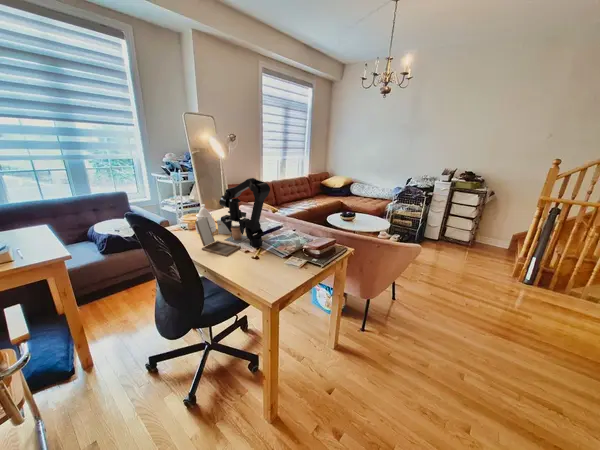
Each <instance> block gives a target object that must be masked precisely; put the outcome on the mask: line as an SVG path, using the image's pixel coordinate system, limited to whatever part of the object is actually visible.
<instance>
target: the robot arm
mask: <svg viewBox="0 0 600 450" xmlns="http://www.w3.org/2000/svg"><path fill="white" fill-rule="evenodd" d="M248 189H249V191H251V192H252V195H253V197H254V201H253V206H252V209H251V216H250V218H247V212H245V211H242V210H241V209H240V204H239V203H241V199H240V198H238V197H240V196H241V194H242V193H243V192H244V191H247V190H248ZM270 191H271V187H270V185H269V183H267V182H264V181H262V180H259V179H257V178H254V177H250V178H246V179H245V180H244V181H242V182H241V183H239V184H237V185H236V186H234V187H229V188H226V189H225V192H224V195H221V196H220V197H221V198H220V199H219V201H218V203H219V205H220V206H221V207H224V208H228V210H227V213H228V214H225V215H223V216H220V218H221V221H222V222H223V223H224V224H225V225H226V227H227V228H228V230H229V231H230V232H232V230H231V227H232V226H233V222H237V223H238V224H239V228H240V231H241V235H244V233H245V236H247V240H248V241H249V246H250V247H251V248H257V249H258V248H259V249H260V248H261V247H262V246H263V239H262V238H263V237H264V236H265V232H264V231H263V229H262V226H261V225H262V224H261V222H260V219H261V215H262V211H263V206H264V203H265V200H266V199H267V197H268V196H269V194H270ZM231 223H232V225H231Z"/></svg>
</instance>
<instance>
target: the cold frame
mask: <svg viewBox="0 0 600 450" xmlns="http://www.w3.org/2000/svg"><path fill="white" fill-rule="evenodd" d="M203 218H204V217H202V219H203ZM239 249H241V245H238V244H235V243H234V244H232V243H231V242H230V243H228V242H225V241H221V240H216V241H215V242H212V243H210V244H208V245H206V246H202V247H201V250H202V251H204V252H209V253H213V254H215V255H219V256H222V257H228V256H229V255H231V254H233V253H235V252H236V251H238V250H239Z"/></svg>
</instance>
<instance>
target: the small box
mask: <svg viewBox="0 0 600 450" xmlns="http://www.w3.org/2000/svg"><path fill="white" fill-rule="evenodd" d="M231 225H232V226H233V222H232V223H231ZM216 226H217V231H218V235H232V232H230V231H229V230H228V228H227V227H226V225H225V224H224V223H223V222H222V221H221V217H218V219H217V220H216Z"/></svg>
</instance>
